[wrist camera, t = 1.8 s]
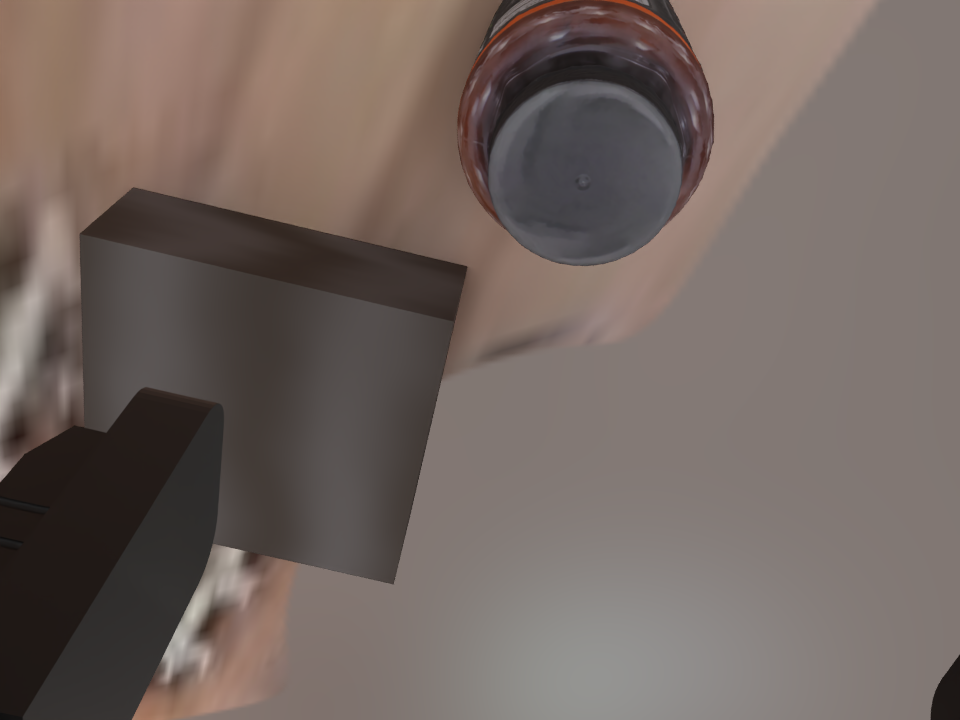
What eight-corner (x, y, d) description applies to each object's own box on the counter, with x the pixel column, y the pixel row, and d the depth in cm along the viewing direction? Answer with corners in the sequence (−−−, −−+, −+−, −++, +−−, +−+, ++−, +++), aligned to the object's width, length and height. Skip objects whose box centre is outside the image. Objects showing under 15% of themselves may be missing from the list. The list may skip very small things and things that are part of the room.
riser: (130, 451, 38) (86, 515, 35) (133, 187, 32) (79, 233, 29) (410, 515, 39) (393, 584, 35) (467, 266, 32) (453, 321, 29)
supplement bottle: (684, 136, 29) (736, 302, 20) (500, 158, 30) (463, 326, 21) (677, -67, 26) (733, 11, 17) (472, -36, 27) (413, 54, 17)
